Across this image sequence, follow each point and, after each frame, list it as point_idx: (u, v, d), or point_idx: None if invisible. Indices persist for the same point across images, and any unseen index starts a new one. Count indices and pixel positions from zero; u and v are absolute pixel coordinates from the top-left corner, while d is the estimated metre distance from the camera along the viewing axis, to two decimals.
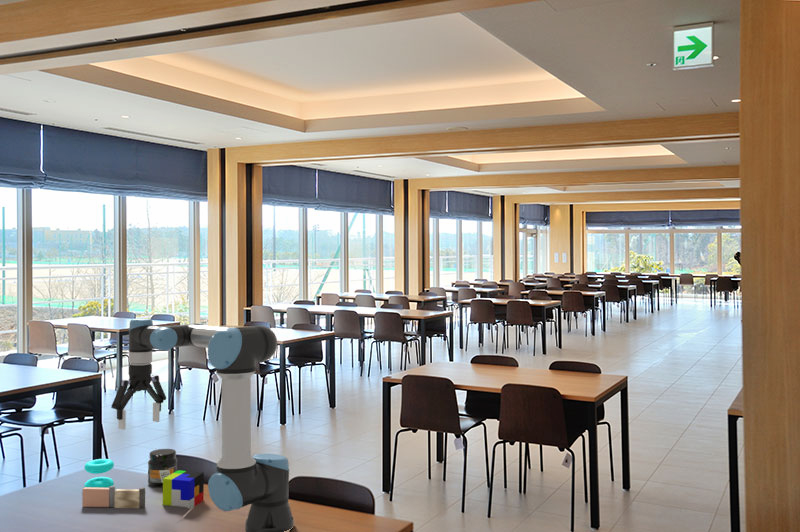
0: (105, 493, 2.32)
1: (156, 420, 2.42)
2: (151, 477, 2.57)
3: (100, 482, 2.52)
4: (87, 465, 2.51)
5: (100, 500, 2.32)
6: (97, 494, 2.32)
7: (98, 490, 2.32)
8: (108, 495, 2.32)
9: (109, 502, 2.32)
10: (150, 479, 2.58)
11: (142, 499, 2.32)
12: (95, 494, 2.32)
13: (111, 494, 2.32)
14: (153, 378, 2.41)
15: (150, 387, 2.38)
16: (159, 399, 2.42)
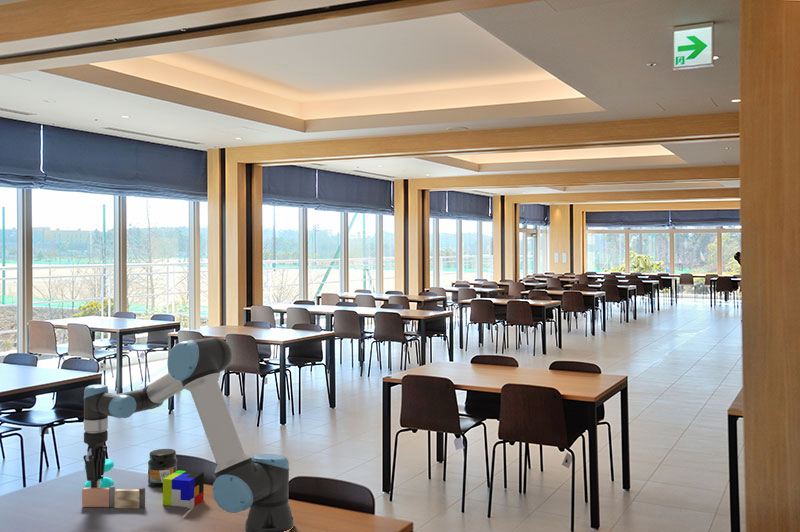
0: (105, 493, 2.32)
1: None
2: (151, 477, 2.57)
3: (100, 482, 2.52)
4: None
5: (100, 500, 2.32)
6: (97, 494, 2.32)
7: (98, 490, 2.32)
8: (108, 495, 2.32)
9: (109, 502, 2.32)
10: (150, 479, 2.58)
11: (142, 499, 2.32)
12: (95, 494, 2.32)
13: (111, 494, 2.32)
14: (103, 447, 2.40)
15: (102, 455, 2.37)
16: (100, 474, 2.37)
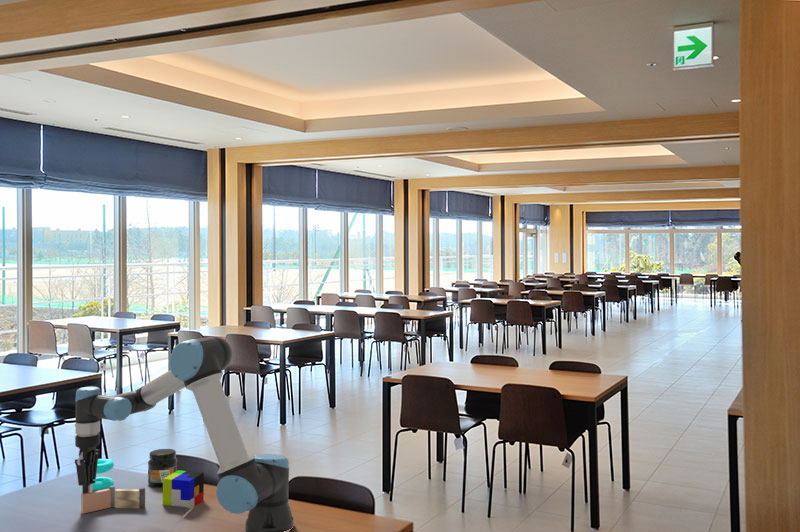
0: (107, 494, 2.31)
1: None
2: (151, 477, 2.57)
3: (100, 482, 2.52)
4: None
5: (101, 502, 2.30)
6: (98, 497, 2.29)
7: (99, 493, 2.30)
8: (110, 495, 2.32)
9: (111, 502, 2.32)
10: (150, 479, 2.58)
11: (142, 499, 2.32)
12: (96, 498, 2.29)
13: (113, 494, 2.33)
14: None
15: (94, 459, 2.31)
16: (92, 478, 2.31)
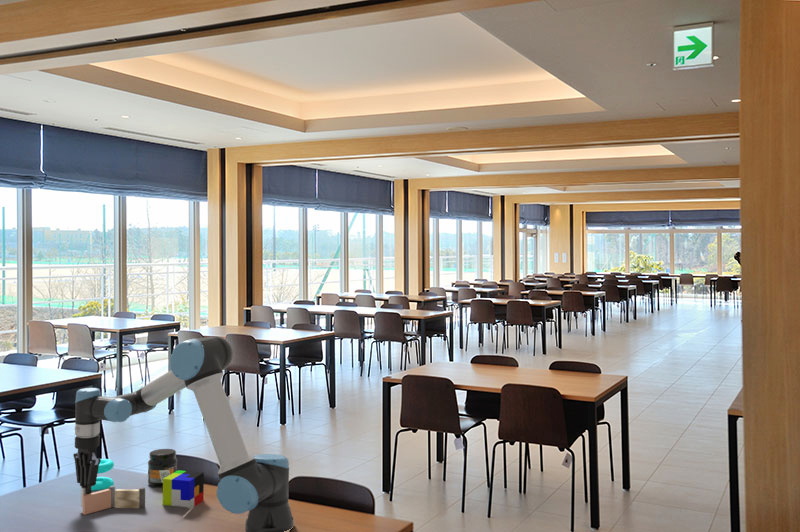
0: (108, 494, 2.31)
1: None
2: (151, 477, 2.57)
3: (100, 482, 2.52)
4: None
5: (102, 503, 2.30)
6: (100, 497, 2.29)
7: (101, 493, 2.29)
8: (110, 495, 2.32)
9: (111, 502, 2.32)
10: (150, 479, 2.58)
11: (142, 499, 2.32)
12: (98, 498, 2.28)
13: (113, 494, 2.33)
14: None
15: None
16: None
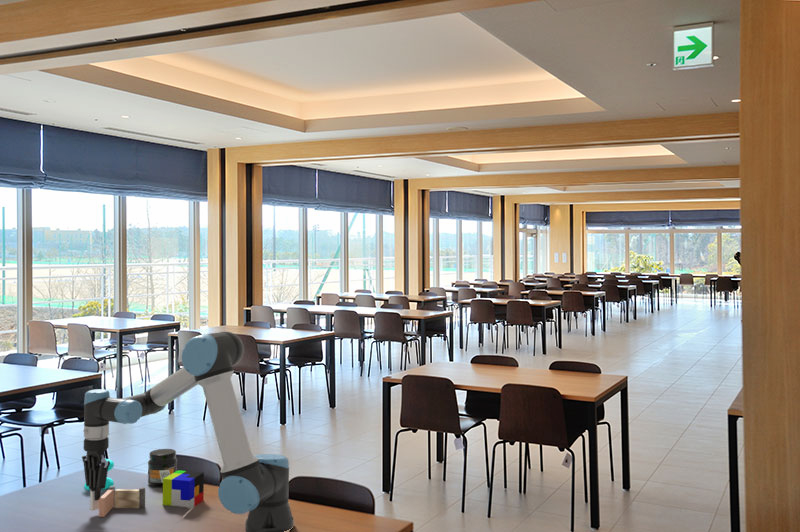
0: (112, 494, 2.31)
1: None
2: (151, 477, 2.57)
3: None
4: None
5: (110, 503, 2.30)
6: (109, 498, 2.29)
7: (110, 494, 2.29)
8: (113, 495, 2.32)
9: (113, 502, 2.33)
10: (150, 479, 2.58)
11: (142, 499, 2.32)
12: (109, 499, 2.28)
13: (114, 493, 2.33)
14: None
15: None
16: None
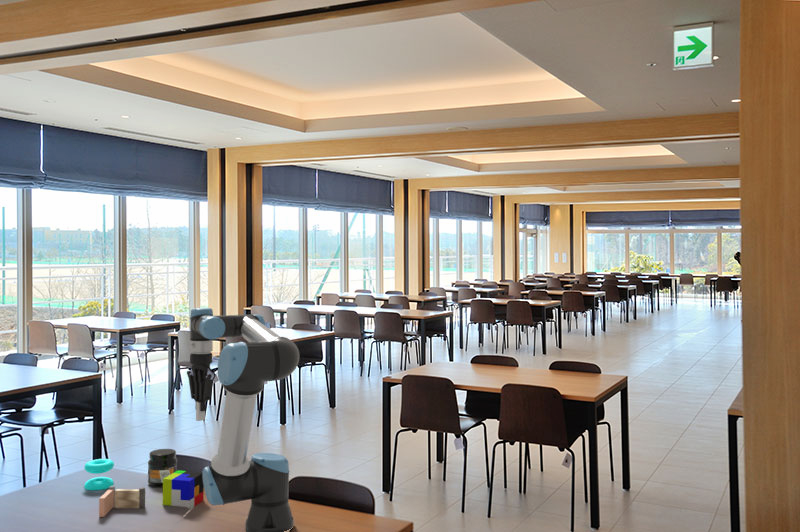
0: (112, 494, 2.31)
1: None
2: (151, 477, 2.57)
3: (100, 482, 2.52)
4: (87, 465, 2.51)
5: (110, 503, 2.30)
6: (109, 498, 2.29)
7: (110, 494, 2.29)
8: (113, 495, 2.32)
9: (113, 502, 2.33)
10: (150, 479, 2.58)
11: (142, 499, 2.32)
12: (109, 499, 2.28)
13: (114, 493, 2.33)
14: None
15: None
16: None
